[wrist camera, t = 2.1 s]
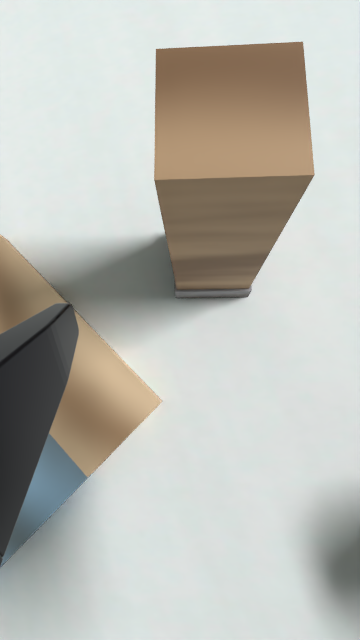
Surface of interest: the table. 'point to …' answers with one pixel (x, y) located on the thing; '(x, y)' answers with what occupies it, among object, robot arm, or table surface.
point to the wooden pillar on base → (229, 159)
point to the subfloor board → (70, 400)
